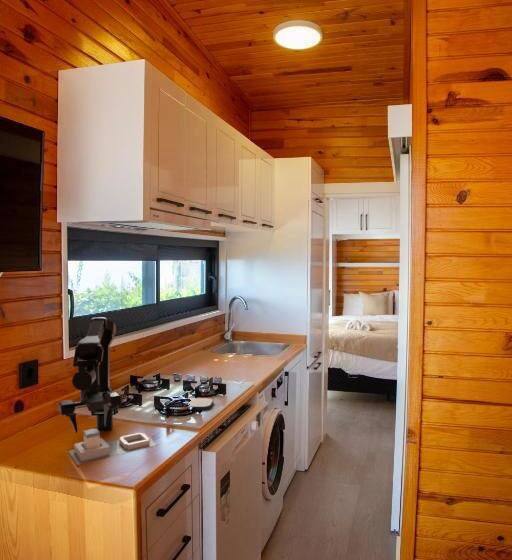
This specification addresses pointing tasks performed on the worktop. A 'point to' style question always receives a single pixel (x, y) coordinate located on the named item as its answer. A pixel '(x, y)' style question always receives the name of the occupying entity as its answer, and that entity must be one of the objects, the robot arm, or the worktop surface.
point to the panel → (110, 448)
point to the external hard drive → (200, 403)
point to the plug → (91, 439)
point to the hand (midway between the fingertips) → (91, 429)
